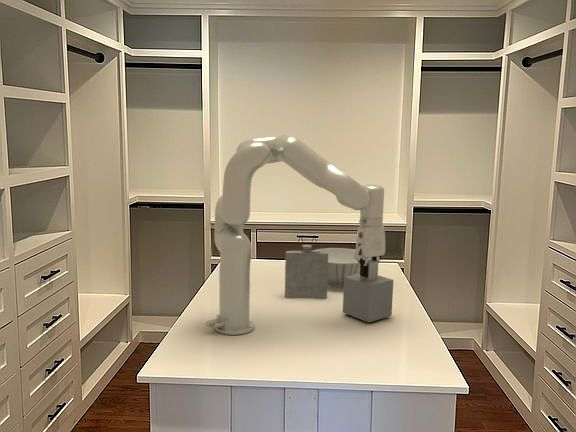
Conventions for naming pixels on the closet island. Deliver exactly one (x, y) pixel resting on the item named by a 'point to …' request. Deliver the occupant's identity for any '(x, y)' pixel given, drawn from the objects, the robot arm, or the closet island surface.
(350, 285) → the grey stepped block
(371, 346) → the closet island surface
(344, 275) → the decorative bowl
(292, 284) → the hip flask
